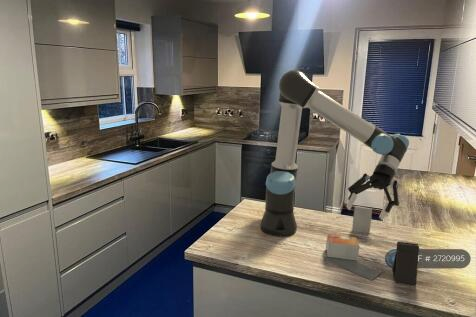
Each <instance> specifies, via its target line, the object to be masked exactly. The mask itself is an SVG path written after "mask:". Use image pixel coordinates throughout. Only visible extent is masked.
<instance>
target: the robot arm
mask: <svg viewBox="0 0 476 317" xmlns="http://www.w3.org/2000/svg"><path fill="white" fill-rule="evenodd" d="M278 89H279V95H278V96H279V97H278V103H279V105H281V109H280V110H281V112H280V120H279V127H278V128H279V129H278V137H277V144H276V152H275V160H274V161H272V162H271V167H270V173H269V174H268V175H267V176H266V181H265V186H266V188H265V210H264V213H263V216H262V219H261V220H260V230H261V231H262V232H263V233H265V234H267V235H270V236H272V237H273V236H274V237H288V236H292V235H294V234H296V232H297V228H298V224H297V222H296V216H295V213H294V210H295V208H294V207H295V193H296V192H295V190H296V186H297V185H296V184H297V179H298V178H297V176H298V169H299V166H298V165H297V163H296V158H297V157H296V156H297V150H298V143H299V142H298V141H299V134H300V127H301V120H302V112H303V109H307V108H308V109H309V110H311V111H312V112H314V113H316V114H317V115H318V116H320V117H322V118H323V119H325V120H326V121H328V122H329V123H331V124H333V125H334V126H336V127H337V128H339V129H340V130H342V131H343V132H345V133H347V134H348V135H350V136H352V137H353V138H354V139H356V140H358V141H359V142H360V143H362V144H363V145H365V146H366V147H368V148H369V149H371V150H372V151H373V152H374V153H376V154H378V155H381V156H380V158H379V161H378V162H377V165H376V166H375V169H374V170H373V172H372V174H371V175H369V174H367V173H366V172H365V173H363V175H362V176H361V177H360V178H359V179H357V180H356V181H355V182H354V183H353V184H352V185H350V186H349V187H348V188H347V190H348V192H349V193H350V194H349V196H348V198H347V200H348V202H347V204H346V208H347V210H348V211H351V209H352V207H353V204H354V203H355V201H356V199H357V197H358V196H357V195H359V194H360V193H363V192H364V191H367V190H368V189H372V188H373V189H378V190H380V191H381V190H383V192H384V194H385V195H386V199H387V202H385V203H384V205H383V208H382V210H381V212H380V214H379V216H378V218H379V219H380V221H384V219H385V217H386V215H387V213H388V214H389V213H390V212H391V210H392V208H393V207H394V206H396V207H398V206H399V207H400V201H399V192H398V188H399V187H400V186H399V182H398V181H397V180H396V179H395V180H393V179H394V176H395V175H396V172H397V171H398V168H399V166H400V164H401V162H402V160H403V159H404V156H405V154H406V152H407V150H408V148H409V145H410V140H409V138H408V137H407V136H406V135H401V133H394V134H393V135H391V134H389V133H388V132H386V131H384V130H383V129H382V128H380V127H378V126H377V125H375V124H374V123H372V122H369V121H367V120H365V119H364V118H362V117H361V116H359V114H356V113H355V112H353V111H352V110H350V109H348V108H347V107H345V106H344V105H342V104H341V103H339V102H338V101H336V100H334V99H333V98H332V97H330V96H328V95H327V94H326V93H324V92H322V91H321V90H320V88H319V86H318V85H316V84H315V83H313V81H311V80H310V79H309V77H308V76H307V74H306V73H305V72H303V71H301V70H298V69H293V70H289V71H287V72H285V73H284V74H283V75H282V76H281V78H280V79H279V83H278ZM390 186H391V187H392V193H393V195H392V196H393V200H392V197H391V195H390V192H389V189H388V187H390Z"/></svg>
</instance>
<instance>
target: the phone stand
mask: <svg viewBox="0 0 476 317" xmlns="http://www.w3.org/2000/svg"><path fill="white" fill-rule="evenodd" d="M419 252H420V245H419V244H418V243H414V242H413V243H411V242H404V241H397V242H396V250H395V253H394V254H395V255H394V259H393V262H392V267H391V270H392V274H393V279H394V282H395V284H400V285H401V284H402V285H407V286H413V287H416V286H417V281H418V280H417V277H418V263H419V260H418V259H419Z"/></svg>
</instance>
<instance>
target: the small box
mask: <svg viewBox="0 0 476 317" xmlns="http://www.w3.org/2000/svg"><path fill="white" fill-rule="evenodd" d="M325 248H326V253H327V256H328V257H333V258H341V259H349V260H354V261H358V260H359V254H360V244H359V241H358V239H357V237H354V236H347V235H338V234H331V233H330V234H329V233H328V234H327V235H326V243H325Z"/></svg>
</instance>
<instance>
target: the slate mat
mask: <svg viewBox="0 0 476 317" xmlns="http://www.w3.org/2000/svg"><path fill="white" fill-rule="evenodd" d="M323 260H324V261H328V262H329V263H332V264H333V265H336V266H338V267H341V268H342V269H345V270H347V271H349V272H352V273H354V274H356V275H359V276H360V277H363V278H365V279H368V280H370V281H372V282H373V281H374V280H375V279H376V278H377V277H379V276H380V275H381V274H382V271H380V270H377V269H375V268H374V267H370V266H368V265H366V264H363V263H361V262H358V260H349V259H341V258H333V257H328V256H325V257H323Z"/></svg>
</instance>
